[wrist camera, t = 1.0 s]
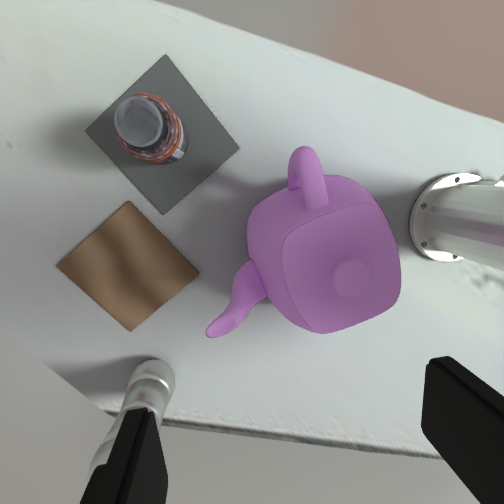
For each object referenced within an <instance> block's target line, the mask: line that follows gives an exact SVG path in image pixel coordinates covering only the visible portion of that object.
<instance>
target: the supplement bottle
mask: <svg viewBox="0 0 504 504" xmlns="http://www.w3.org/2000/svg"><path fill="white" fill-rule="evenodd" d="M114 130H115V134H116V137H117V139H118V141H119V143H120V144H121V145H122V147H123V148H124V149H125V150H126V151H127V152H128V153H129V154H131V155H132V156H134V157H136V158H138V159H141V160H144V161H148V162H153V163H157V164H172V163H175V162H177V161H178V160H180V159H181V158H182V157H183V156H184V154H185V153H186V150H187V147H188V134H187V131H186V128H185V126H184V124H183V123H182V122H181V120H180V119H179V117H178V116H177V114H176V113H175V112H174V110H173V109H172V108H171V107H170V105H169V104H168V103H167V102H165V101H164V100H163V99H161V98H160V97H158V96H155V95H153V94H149V93H137V94H133V95H131V96H129V97H127V98H125V99H124V100H122V101H121V102H120V103H119V104H118V106H117V107H116V109H115V113H114Z"/></svg>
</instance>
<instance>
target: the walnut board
mask: <svg viewBox="0 0 504 504" xmlns="http://www.w3.org/2000/svg"><path fill="white" fill-rule="evenodd" d="M56 267H58V268H59V269H60V270H61V271H62V272H63V273H64V274H66V275H67V276H68V277H69V278H70V279H71V280H72V281H73V282H75V283H76V284H77V285H78V286H79V287H80V288H81V289H82V290H84V291H85V292H86V293H87V294H88V295H89V296H90V297H91V298H93V299H94V300H95V301H96V302H97V303H98V304H99V305H101V306H102V307H103V308H104V309H105V310H106V311H107V312H108V313H110V314H111V315H112V316H113V317H114V318H115V319H116V320H117V321H119V322H120V323H121V324H122V325H123V326H124V327H125V328H126V329H128V330H129V331H130V332H131V331H132V330H133V329H134V328H136V327H137V326H138V325H139V324H140V323H141V322H143V321H144V320H145V319H146V318H147V317H149V316H150V315H151V314H152V313H153V312H155V311H156V310H157V309H158V308H159V307H161V306H162V305H163V304H164V303H165V302H167V301H168V300H169V299H170V298H171V297H173V296H174V295H175V294H176V293H177V292H179V291H180V290H181V289H182V288H183V287H184V286H186V285H187V284H188V283H189V282H190V281H192V280H193V279H194V278H195V277H196V276H198V275H199V272H198V271H197V270H196V269H195V268H194V267H193V266H192V265H191V264H190V263H189V262H188V261H187V260H186V259H185V258H184V257H183V256H182V255H181V254H180V253H179V252H178V250H177V249H176V248H175V247H174V246H173V245H172V244H171V243H170V242H169V241H168V240H167V239H166V238H165V237H164V236H163V235H162V234H161V233H160V232H159V231H158V230H157V229H156V228H155V226H154V225H153V224H152V223H151V222H150V221H149V220H148V219H147V218H146V217H145V216H144V215H143V214H142V213H141V212H140V211H139V210H138V209H137V208H136V207H135V206H134V205H133V204H132V202H131V201H128V202H127V203H126V204H125V205H124V206H123V207H122V208H121V209H119V210H118V211H117V212H116V213H115V214H114V215H113V216H112V217H110V218H109V219H108V220H107V221H106V222H105V223H104V224H103V225H102V226H100V227H99V228H98V229H97V230H96V231H95V232H94V233H93V234H91V235H90V236H89V237H88V238H87V239H86V240H85V241H84V242H83V243H81V244H80V245H79V246H78V247H77V248H76V249H75V250H74V251H72V252H71V253H70V254H69V255H68V256H67V257H66V258H65V259H64V260H62V261H61V262H60V263H59V264H58V265H57V266H56Z"/></svg>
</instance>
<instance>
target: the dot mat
mask: <svg viewBox="0 0 504 504" xmlns="http://www.w3.org/2000/svg"><path fill="white" fill-rule="evenodd" d="M137 93H149V94H153V95H155V96H158V97H160V98H161V99H163V100H164V101H165V102H167V103H168V104H169V105H170V107H171V108H172V109H173V110H174V112H175V113H176V114H177V116H178V117H179V119H180V120H181V122H182V123H183V124H184V126H185V128H186V131H187V134H188V147H187V150H186V153H185V154H184V156H183V157H182V158H181V159H180V160H178V161H177V162H175V163H172V164H157V163H153V162H148V161H144V160H141V159H138V158H136V157H134V156H132V155H131V154H129V153H128V152H127V151H126V150H125V149H124V148H123V147H122V145H121V144H120V143H119V141H118V139H117V137H116V134H115V130H114V113H115V109H116V107H117V106H118V104H119V103H120V102H121V101H122V100H124V99H125V98H127V97H129V96H131V95H133V94H137ZM85 132H86V133H87V134H88V135H89V136H90V137H91V138H92V139H93V140H94V141H95V142H96V143H97V144H98V146H99V147H100V148H101V149H102V150H103V151H104V152H105V153H106V154H107V155H108V156H109V157H110V158H111V159H112V161H113V162H114V163H115V164H116V165H117V166H118V167H119V168H120V169H121V170H122V171H123V172H124V173H125V174H126V175H127V177H128V178H129V179H130V180H131V181H132V182H133V183H134V184H135V185H136V186H137V187H138V188H139V189H140V190H141V192H142V193H143V194H144V195H145V196H146V197H147V198H148V199H149V200H150V201H151V202H152V203H153V204H154V205H155V207H156V208H157V209H158V210H159V211H160V212H161V213H162V214H163V215H164V214H165V213H166V212H168V211H169V210H170V209H171V208H172V207H173V206H174V205H176V204H177V203H178V202H179V201H180V200H181V199H182V198H184V197H185V196H186V195H187V194H188V193H189V192H190V191H192V190H193V189H194V188H195V187H196V186H197V185H198V184H200V183H201V182H202V181H203V180H204V179H205V178H206V177H208V176H209V175H210V174H211V173H212V172H213V171H214V170H215V169H217V168H218V167H219V166H220V165H221V164H222V163H223V162H225V161H226V160H227V159H228V158H229V157H230V156H231V155H233V154H234V153H235V152H236V151H237V150H238V149H239V146H238V145H237V144H236V143H235V141H234V140H233V139H232V137H231V136H230V135H229V134H228V132H227V131H226V130H225V129H224V127H223V126H222V125H221V123H220V122H219V121H218V120H217V118H216V117H215V116H214V114H213V113H212V112H211V111H210V109H209V108H208V107H207V106H206V104H205V103H204V102H203V100H202V99H201V98H200V97H199V95H198V94H197V93H196V91H195V90H194V89H193V88H192V86H191V85H190V84H189V83H188V81H187V80H186V79H185V77H184V76H183V75H182V74H181V72H180V71H179V70H178V68H177V67H176V66H175V65H174V63H173V62H172V61H171V60H170V58H169V57H168V56H167V54H166V55H165V56H164V57H163V58H162V59H161V60H159V61H158V62H157V63H156V64H155V65H154V66H153V67H152V68H151V69H150V70H149V71H148V72H147V73H146V74H145V75H144V76H142V77H141V78H140V79H139V80H138V81H137V82H136V83H135V84H134V85H133V86H132V87H131V88H130V89H129V90H128V91H127V92H126V93H124V94H123V95H122V96H121V97H120V98H119V99H118V100H117V101H116V102H115V103H114V104H113V105H112V106H111V107H110V108H109V109H107V110H106V111H105V112H104V113H103V114H102V115H101V116H100V117H99V118H98V119H97V120H96V121H95V122H94V123H93V124H92V125H91V126H89V127H88V128H87V129H86V130H85Z"/></svg>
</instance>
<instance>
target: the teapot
mask: <svg viewBox="0 0 504 504" xmlns="http://www.w3.org/2000/svg"><path fill="white" fill-rule="evenodd" d="M247 244H248V251H249V257H250V259H249V260H248V261H247V262H246V263H245V264H244V265H243V266H242V267H241V268H240V269H239V271H238V272H237V274H236V275H235V277H234V280H233V285H232V292H231V298H230V302H229V304H228V306H227V308H226V310H225V311H224V312H223V313H222V314H221V315H220V316H219V317H218V318H216V319H215V320H214V321H213V322H212V323H211V324H210V325H209V326H208V328H207V329H206V336H207V337H209V338H215V337H219V336H222V335H224V334H227V333H228V332H230V331H232V330H233V329H234V328H236V327H237V326H238V325H239V324H240V323H241V322H242V321H243V320H244V319H245V318H246V316H247V315H248V313H249V311H250V310H251V308H252V307H253V306H254V305H255V304H256V303H258V302H259V301H261V300H262V299H264V298H266V297H268V298H269V299H270V301H271V302H272V303H273V304H274V306H275V307H276V308H277V309H278V310H279V311H280V312H281V313H282V314H283V315H284V317H285V318H287V319H288V320H289V321H291V322H292V323H294V324H295V325H297V326H299V327H301V328H304V329H306V330H309V331H311V332H315V333H320V334H326V333H331V332H335V331H339V330H342V329H345V328H348V327H350V326H353V325H356V324H358V323H361V322H363V321H365V320H368V319H370V318H373V317H375V316H377V315H379V314H381V313H383V312H385V311H386V310H388V309H389V308H391V307H392V306H393V305H394V304H395V302H396V301H397V299H398V297H399V294H400V289H401V267H400V259H399V253H398V248H397V245H396V242H395V239H394V236H393V233H392V231H391V228H390V226H389V224H388V221H387V219H386V217H385V216H384V214H383V212H382V210H381V209H380V207H379V206H378V204H377V203H376V201H375V200H374V198H373V197H372V196H371V194H370V193H369V192H368V191H367V190H366V189H365V188H364V187H363V186H361V185H360V184H359V183H357V182H355V181H353V180H351V179H349V178H346V177H343V176H339V175H326V176H324V175H323V171H322V168H321V164H320V161H319V159H318V157H317V154H316V153H315V151H314V150H313V149H312V148H310V147H308V146H302V147H299V148H297V149H296V150H295V151H294V152H293V153H292V155H291V157H290V160H289V165H288V187H287V188H284V189H282V190H280V191H278V192H276V193H275V194H273V195H271V196H269V197H268V198H266V199H264V200H263V201H261V202H260V203H259V204H258V205H257V206H255V207H254V209H253V210H252V212H251V214H250V216H249V218H248V224H247Z"/></svg>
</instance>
